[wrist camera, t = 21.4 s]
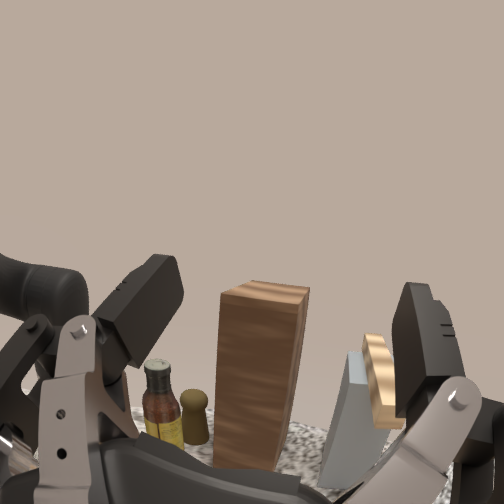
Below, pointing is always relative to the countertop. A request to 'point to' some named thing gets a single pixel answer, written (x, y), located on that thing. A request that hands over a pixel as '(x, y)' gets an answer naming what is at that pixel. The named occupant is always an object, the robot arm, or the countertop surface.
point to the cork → (194, 417)
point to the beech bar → (380, 382)
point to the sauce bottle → (161, 404)
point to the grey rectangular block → (351, 430)
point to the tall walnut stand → (256, 372)
